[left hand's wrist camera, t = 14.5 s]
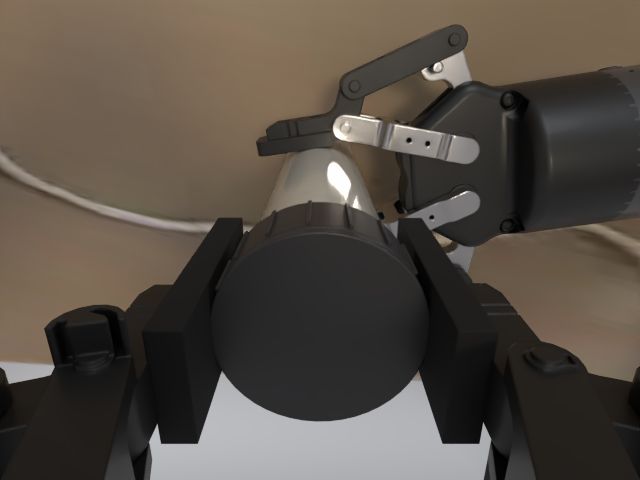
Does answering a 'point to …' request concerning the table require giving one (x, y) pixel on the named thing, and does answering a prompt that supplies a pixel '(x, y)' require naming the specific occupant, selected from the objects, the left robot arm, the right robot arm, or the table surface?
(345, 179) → the jar
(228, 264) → the lid
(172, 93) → the table surface
